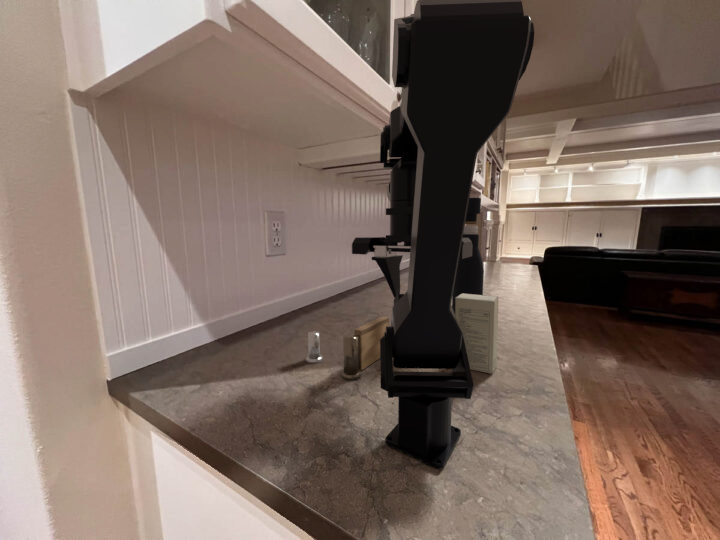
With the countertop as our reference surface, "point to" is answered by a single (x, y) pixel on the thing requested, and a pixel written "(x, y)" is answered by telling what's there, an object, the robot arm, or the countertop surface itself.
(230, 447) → the countertop surface
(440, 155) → the robot arm
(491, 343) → the skincare box
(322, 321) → the countertop surface
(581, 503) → the countertop surface
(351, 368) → the hinge post
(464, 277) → the wine bottle
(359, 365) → the gate
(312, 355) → the post
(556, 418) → the countertop surface
